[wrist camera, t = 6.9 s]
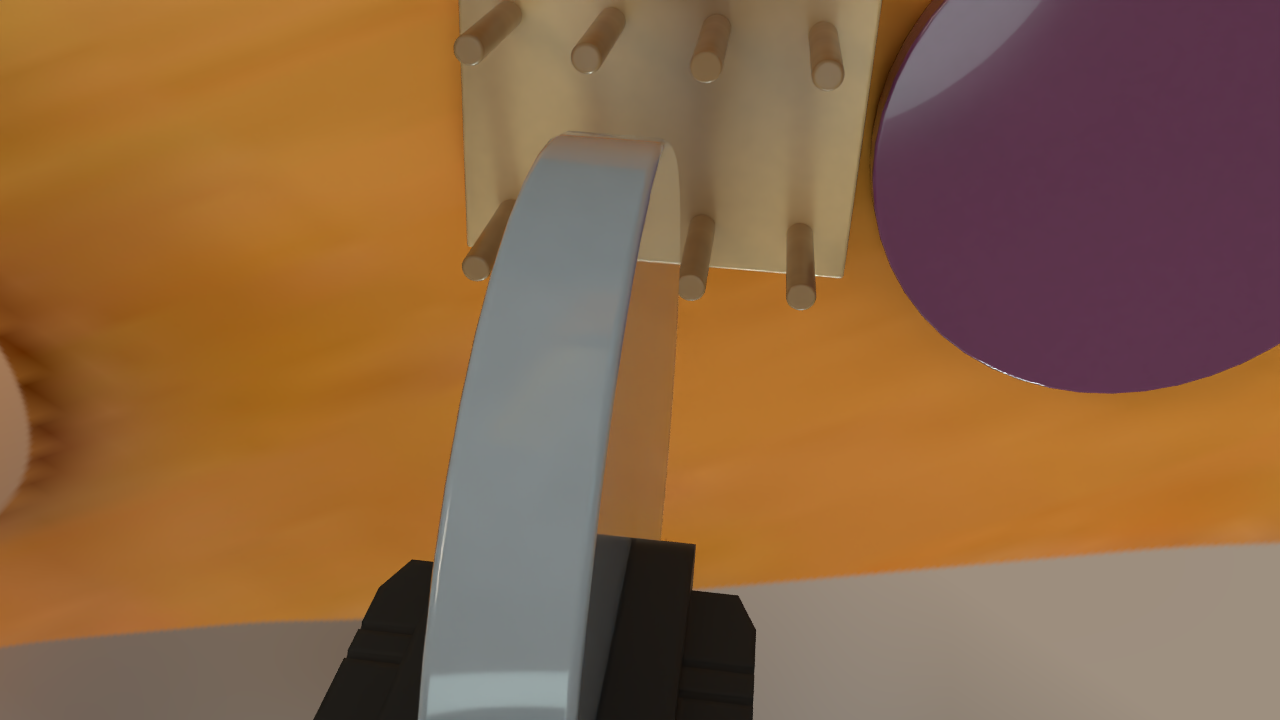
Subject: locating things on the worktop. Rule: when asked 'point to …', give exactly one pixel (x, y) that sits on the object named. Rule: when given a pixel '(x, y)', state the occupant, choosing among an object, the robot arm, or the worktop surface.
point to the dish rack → (681, 117)
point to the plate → (557, 435)
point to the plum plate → (1087, 185)
